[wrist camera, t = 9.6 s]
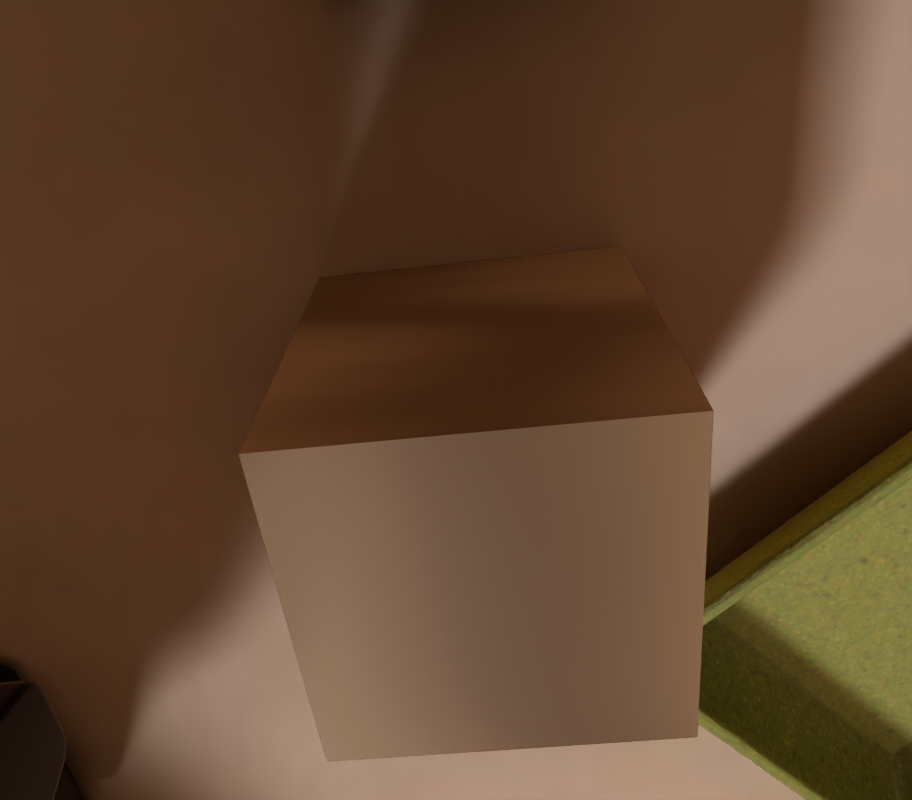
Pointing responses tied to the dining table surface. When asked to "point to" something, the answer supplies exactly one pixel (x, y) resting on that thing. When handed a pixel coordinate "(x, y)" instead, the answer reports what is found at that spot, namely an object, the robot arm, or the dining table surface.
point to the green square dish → (821, 641)
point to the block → (487, 508)
